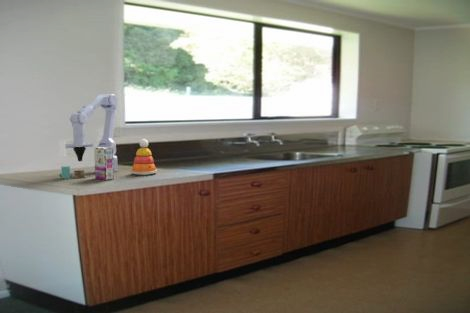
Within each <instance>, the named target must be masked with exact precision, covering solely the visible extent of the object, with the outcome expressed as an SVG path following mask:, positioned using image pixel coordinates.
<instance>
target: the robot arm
mask: <svg viewBox="0 0 470 313" xmlns="http://www.w3.org/2000/svg"><path fill="white" fill-rule="evenodd" d="M117 105H118V98H117V96H116V95H115V94H114V93H109V94H108V93H105V94H104V93H100V94H98V95H96V97H95V99H94V100H92V102H91V103H89V104H88V105H85V104H84V105H83V106H82V108H80V109H78V110H77V112H73V113H72V114H71V115H70V118H69V120H70V122H71V126H72V138H73V140H72V141H73V143H69V144H64V149H73V151H74V153H75V156H76V157H77V161H78V162H83V157H84V154H85V151H86V149H87V148H94V142H86V141H85V140H86V137H85V135H86V133H85V124H86V123H87V119H88V118H89V117H91V116H92V115H93V114H94V110H96V109H97V108H99V107H101V108H102V109H103V110H104V111H105V119H104V128H103V133H102V134H103V135H102V139H100V140H99V141H98V145H97V147H106V148H113V171H114V172H116V173H117V172H119V171H118V170H119V167H118V166H119V165H118V156H117V155H116V154H117V147H116V146H117V143H116V142H115V141H114V140H113V138H114V132H115V131H114V130H115V125H116V124H115V123H116V116H117V115H116V114H117Z"/></svg>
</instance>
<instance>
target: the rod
mask: <svg viewBox="0 0 470 313" xmlns="http://www.w3.org/2000/svg"><path fill="white" fill-rule="evenodd" d="M74 177H75V173H74V172H70V178H69V179H71V178H72V179H73V178H74ZM74 179H75V178H74Z"/></svg>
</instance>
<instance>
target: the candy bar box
mask: <svg viewBox="0 0 470 313" xmlns="http://www.w3.org/2000/svg"><path fill="white" fill-rule="evenodd" d="M93 149H94V150H93V151H94V176H95V179H98V180H102V181H114V180H115V179H114V178H115V177H114V176H115V174H114V171H113V148H106V147H98V146H96V147H93Z"/></svg>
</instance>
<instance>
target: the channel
mask: <svg viewBox="0 0 470 313" xmlns="http://www.w3.org/2000/svg"><path fill="white" fill-rule="evenodd" d="M73 173H75V178H74V179H83V178H84V179H85V170H83V169H80V170H79V169H78V170H74V171H73Z"/></svg>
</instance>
